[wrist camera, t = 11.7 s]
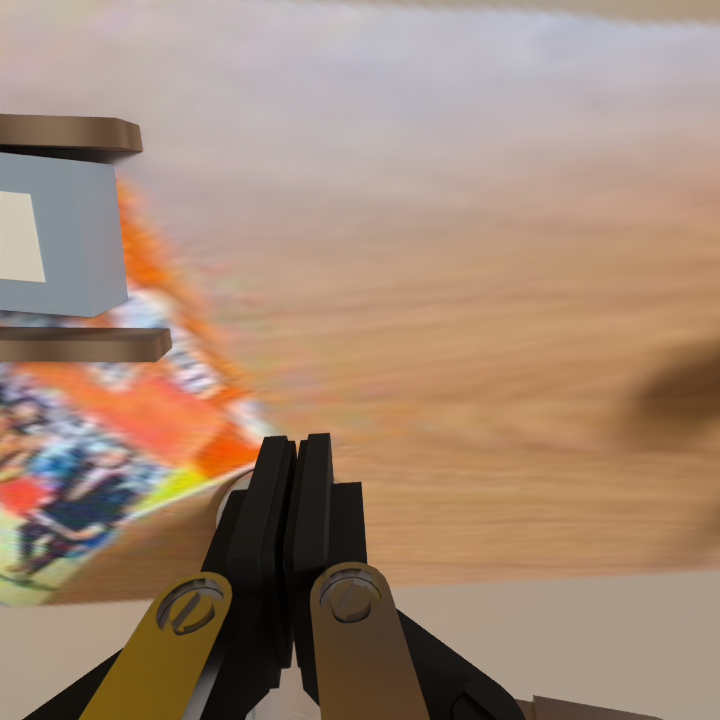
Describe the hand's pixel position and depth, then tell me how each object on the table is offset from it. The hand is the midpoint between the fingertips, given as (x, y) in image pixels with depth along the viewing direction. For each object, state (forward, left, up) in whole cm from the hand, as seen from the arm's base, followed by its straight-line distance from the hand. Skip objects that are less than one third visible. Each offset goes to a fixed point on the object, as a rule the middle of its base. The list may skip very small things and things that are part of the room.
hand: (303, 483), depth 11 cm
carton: (-12, +16, -22) cm, 30 cm away
